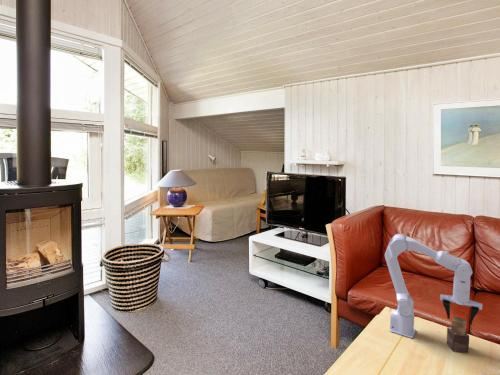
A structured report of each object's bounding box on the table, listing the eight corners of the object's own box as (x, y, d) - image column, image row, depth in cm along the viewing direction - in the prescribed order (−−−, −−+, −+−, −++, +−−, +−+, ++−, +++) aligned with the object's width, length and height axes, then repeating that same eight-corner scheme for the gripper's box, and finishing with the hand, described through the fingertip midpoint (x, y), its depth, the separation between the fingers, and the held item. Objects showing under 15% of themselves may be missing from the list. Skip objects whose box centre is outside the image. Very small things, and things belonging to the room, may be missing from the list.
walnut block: (451, 331, 129) (451, 320, 128) (452, 327, 132) (453, 315, 132) (464, 335, 126) (464, 323, 125) (465, 330, 129) (466, 319, 129)
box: (468, 353, 126) (469, 336, 125) (452, 351, 127) (453, 334, 127) (461, 344, 132) (462, 328, 131) (446, 342, 133) (447, 326, 133)
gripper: (439, 288, 131) (438, 319, 133) (482, 297, 122) (480, 330, 124) (442, 282, 137) (440, 312, 138) (483, 291, 128) (481, 323, 129)
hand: (459, 320), depth 131 cm, fingers open, 7 cm apart
